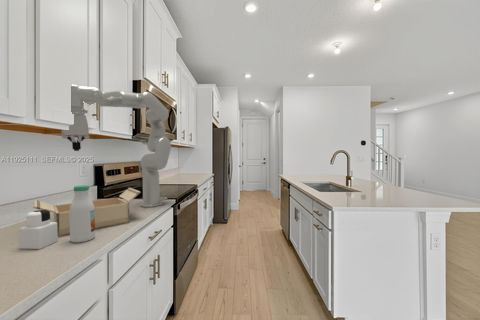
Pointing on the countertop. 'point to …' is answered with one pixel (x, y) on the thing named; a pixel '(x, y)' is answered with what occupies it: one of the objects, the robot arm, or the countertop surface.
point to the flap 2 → (129, 194)
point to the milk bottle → (81, 216)
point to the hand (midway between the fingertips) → (76, 150)
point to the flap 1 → (43, 206)
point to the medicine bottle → (38, 231)
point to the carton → (105, 214)
